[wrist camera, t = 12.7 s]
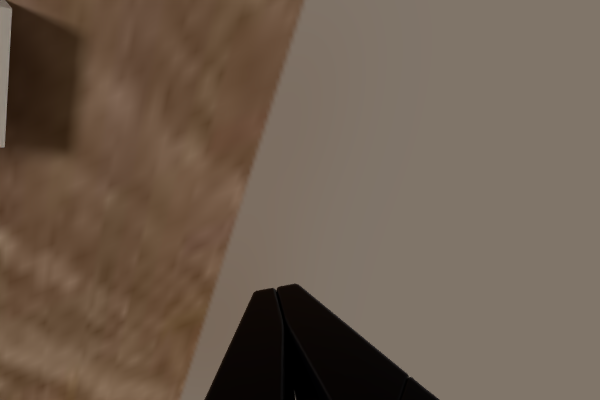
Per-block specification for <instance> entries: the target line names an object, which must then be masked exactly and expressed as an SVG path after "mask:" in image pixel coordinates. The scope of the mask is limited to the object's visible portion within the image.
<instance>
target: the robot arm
mask: <svg viewBox="0 0 600 400" xmlns="http://www.w3.org/2000/svg"><path fill="white" fill-rule="evenodd" d="M276 291H277V292H276ZM294 393H295V394H294ZM295 397H296V400H439V399H438V398H436V397H435V396H434V395H433V394H431V393H430V392H429V391H428V390H426V389H425V388H424V387H423V386H421V385H420V384H419V383H418V382H417V381H415V380H414V379H413V378H411V377H409V376H408V374H407V373H405V372H404V371H403V370H402V369H400V368H399V367H398V366H397V365H396V364H395V363H393V362H392V361H391V360H390V359H388V358H387V357H386V356H385V355H384V354H382V353H381V352H380V351H379V350H377V349H376V348H375V347H374V346H372V345H371V344H370V343H369V342H368V341H366V340H365V339H364V338H363V337H362V336H360V335H359V334H358V333H357V332H355V331H354V330H353V329H352V328H351V327H349V326H348V325H347V324H346V323H345V322H343V321H342V320H341V319H340V318H338V317H337V316H336V315H335V314H333V313H332V312H331V311H330V310H329V309H328V308H326V307H325V306H324V305H323V304H321V303H320V302H319V301H318V300H316V299H315V298H314V297H313V296H312V295H310V294H309V293H308V292H307V291H306V290H304V289H303V288H302V287H301V286H299V285H298V284H291V285H286V286H280V287H278V288H277V290H275V289H274V288H270V289H264V290H259V291H256V292H254V293H253V295H252V297H251V300H250V302H249V304H248V306H247V308H246V311H245V313H244V315H243V317H242V319H241V321H240V324H239V326H238V328H237V330H236V332H235V335H234V337H233V339H232V341H231V343H230V345H229V348H228V350H227V352H226V354H225V357H224V358H223V361H222V363H221V365H220V367H219V369H218V372H217V374H216V376H215V378H214V380H213V383H212V385H211V387H210V389H209V391H208V393H207V396H206V398H205V400H295Z"/></svg>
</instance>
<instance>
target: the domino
mask: <svg viewBox="0 0 600 400" xmlns="http://www.w3.org/2000/svg"><path fill="white" fill-rule="evenodd" d="M11 19H12V8H11V7H10V5H9V4H8V3H7V2H6V0H0V147H2V148H5V132H6V114H7V95H8V76H9V57H10V38H11Z"/></svg>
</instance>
